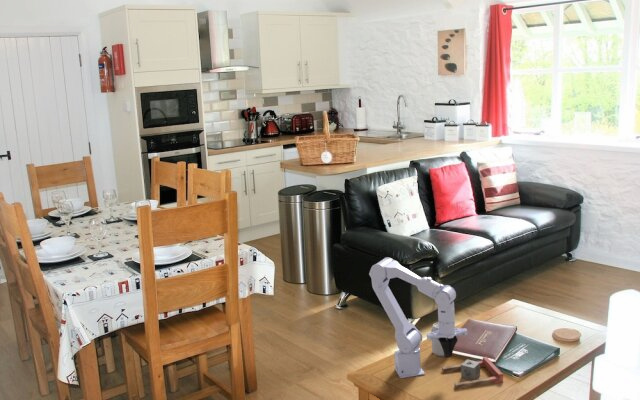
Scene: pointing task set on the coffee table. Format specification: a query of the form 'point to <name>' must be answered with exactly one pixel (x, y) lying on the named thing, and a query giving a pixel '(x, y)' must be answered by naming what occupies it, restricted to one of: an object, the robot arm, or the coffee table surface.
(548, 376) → the coffee table surface
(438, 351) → the can
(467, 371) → the dice cube
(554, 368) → the coffee table surface
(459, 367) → the guide channel
